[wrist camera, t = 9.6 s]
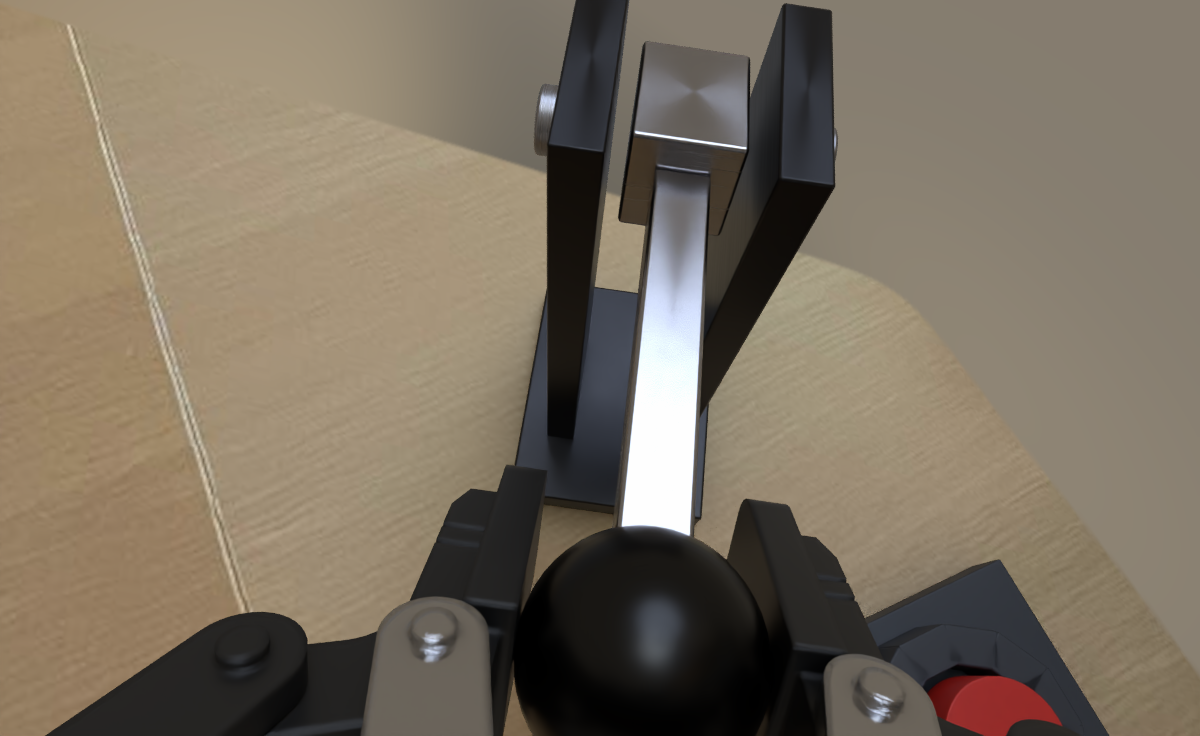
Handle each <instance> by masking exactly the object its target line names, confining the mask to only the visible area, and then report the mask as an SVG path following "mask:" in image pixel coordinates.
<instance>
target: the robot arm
mask: <svg viewBox="0 0 1200 736" xmlns="http://www.w3.org/2000/svg"><path fill="white" fill-rule="evenodd" d="M546 481H547V470H541V469H534V468H527V467H520V466H513V465H506V467H505V469H504V472H503V475H502V478H501V481H500V485H499V488H498V491H497V492H492V491H485V490H477V489H470V490H469V491H467V492H466V493H465V494H463V495H462V496H461V497H460V498H458V499H457V500H456V501H454V502H453V503H452V504H451V507H450V509H449V511H448V514H447V516H446V518H445V520H444V524H443V526H442V527H441V530H440V532H439V534H438V537H437V540H436V543H435V544H434V546H433V548H432V551H431V553H430V555H429V557H428V560H427V562H426V564H425V567H424V569H423V571H422V574H421V576H420V578H419V581H418V583H417V585H416V588H415V590H414V592H413V594H412V597H411V599H410V601H409V602H406V603H404V604H402V605H400V606H398V607H397V608H395V609H394V610H392V611H391V612H390V613H389V614H388V615H387V616H386V617H385V618H384V619H383V621H382V622H381V624H380V626H379V628H378V631H377V632H374V633H372V634H369V635H367V636H363V637H359V638H355V639H349V640H342V641H334V642H325V643H316V644H307V637H306V634H305V632H304V630H303V629H302V627H301V626H300V625H299V624H298V623H297V622H295V621H294V620H292V619H290V618H288V617H286V616H283V615H280V614H275V613H268V612H251V613H243V614H238V615H234V616H230V617H227V618H224V619H222V620H219V621H217V622H215V623H213V624H210V625H209V626H207V627H205V628H204V629H202V630H200V631H199V632H197V633H196V634H194V635H193V636H191V637H190V638H188V639H187V640H186V641H184V642H183V643H181V644H180V645H178V646H177V647H175V648H174V649H172V650H171V651H169V652H168V653H166V654H165V655H163V656H162V657H160V658H159V659H158V660H156V661H155V662H153V663H152V664H150V665H149V666H147V667H146V668H144V669H143V670H141V671H140V672H138V673H137V674H135V675H134V676H132V677H131V678H130V679H128V680H127V681H125V682H124V683H122V684H121V685H119V686H118V687H116V688H115V689H113V690H112V691H110V692H109V693H107V694H106V695H105V696H103V697H102V698H100V699H99V700H97V701H96V702H94V703H93V704H91V705H90V706H88V707H87V708H85V709H84V710H82V711H81V712H79V713H78V714H77V715H75V716H74V717H72V718H71V719H69V720H68V721H66V722H65V723H63V724H62V725H60V726H59V727H57V728H56V729H54V730H53V731H51V732H50V733H49V734H47V735H46V736H503V732H504V727H505V721H506V716H507V711H508V706H509V701H510V696H511V690H512V685H513V680H514V650H515V642H516V636H517V630H518V625H519V620H520V617H521V614H522V611H523V609H524V606H525V603H526V601H527V599H528V597H529V595H530V592H531V587H532V582H533V576H534V570H535V564H536V558H537V551H538V543H539V536H540V528H541V520H542V512H543V505H544V497H545V489H546ZM727 561H728V562H729V563H730V564H731V565H732V566H733V567H734V568H735V570H736V571H737V572H738V573H739V574H740V576H741V577H742V578H743V580H744V581H745V582H746V584H747V585H748V587H749V589H750V590H751V592H752V594H753V595H754V597H755V599H756V601H757V603H758V606H759V608H760V610H761V612H762V615H763V618H764V621H765V624H766V628H767V631H768V636H769V641H770V646H771V655H772V684H771V691H770V696H769V702H768V706H767V709H766V712H765V715H764V718H763V721H762V723H761V726H760V728H759V730H758V732H757V734H756V736H984V735H982V734H979V733H977V732H974V731H971V730H969V729H966V728H964V727H961V726H958V725H956V724H953V723H951V722H949V721H946V720H944V719H942V718H940V717H938V716H937V715H936V711H935V708H934V705H933V703H932V701H931V699H930V698H929V696H928V694H927V693H926V692H925V691H924V689H923V688H922V687H921V686H920V685H919V684H918V683H917V682H916V681H915V680H914V679H913V678H912V677H910V676H909V675H908V674H907V673H905V672H904V671H902V670H901V669H899V668H897V667H896V666H894V665H892V664H890V663H888V662H886V661H884V659H883V657H882V655H881V653H880V651H879V648H878V646H877V644H876V642H875V640H874V638H873V635H872V633H871V631H870V629H869V627H868V625H867V622H866V620H865V618H864V616H863V614H862V612H861V610H860V607H859V605H858V603H857V602H856V601H854V598H855V597H854V594H853V592H852V590H851V588H850V586H849V584H848V583H846V577H845V575H844V573H843V571H842V568H841V566H840V564H839V562H838V560H837V558H836V557H835V556H834V555H833V554H832V553H831V552H830V551H829V550H828V549H827V548H826V547H825V546H824V545H823V544H822V543H821V542H820V541H819V540H818V539H817V538H816V537H809V536H802V535H801V534H800V531H799V529H798V526H797V524H796V521H795V519H794V517H793V514H792V512H791V509H790V507H789V506H788V505H786V504H779V503H772V502H765V501H758V500H751V499H745V500H743V502H742V504H741V506H740V509H739V513H738V517H737V521H736V525H735V529H734V533H733V537H732V541H731V545H730V549H729V553H728V557H727ZM1006 736H1081V735H1080V734H1078V733H1076V732H1074V731H1072V730H1070V729H1068V728H1065V727H1063V726H1060V725H1058V724H1055V723H1051V722H1048V721H1043V720H1038V719H1026V720H1020V721H1018V722H1015V723H1014V724H1013V725H1012V726H1011V727H1010V728H1009V730H1008V732H1007V734H1006Z"/></svg>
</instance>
